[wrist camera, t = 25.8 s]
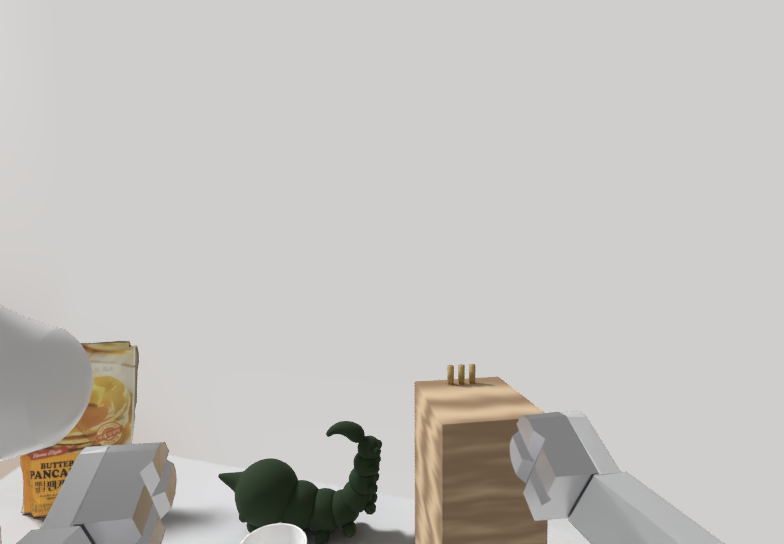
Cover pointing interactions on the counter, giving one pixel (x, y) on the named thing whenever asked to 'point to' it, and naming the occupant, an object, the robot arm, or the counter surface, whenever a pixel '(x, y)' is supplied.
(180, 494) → the counter surface
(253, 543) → the white cup
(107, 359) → the pancake mix bag
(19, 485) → the counter surface
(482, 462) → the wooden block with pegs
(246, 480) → the toy figurine
